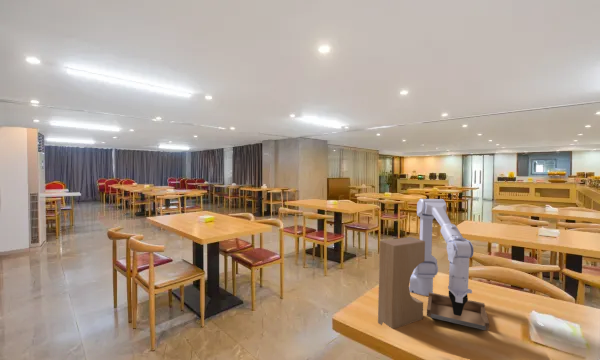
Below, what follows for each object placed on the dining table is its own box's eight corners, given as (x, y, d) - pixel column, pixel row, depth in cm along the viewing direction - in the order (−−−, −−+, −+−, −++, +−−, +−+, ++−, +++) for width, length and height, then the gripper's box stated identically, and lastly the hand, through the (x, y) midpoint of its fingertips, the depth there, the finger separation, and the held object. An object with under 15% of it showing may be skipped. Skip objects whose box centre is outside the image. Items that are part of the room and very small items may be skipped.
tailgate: (431, 318, 102) (430, 317, 97) (431, 314, 102) (431, 313, 98) (483, 330, 94) (485, 330, 90) (483, 326, 95) (485, 326, 90)
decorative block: (392, 333, 94) (394, 246, 93) (377, 322, 100) (379, 240, 99) (423, 322, 100) (425, 241, 99) (406, 313, 107) (409, 236, 106)
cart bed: (426, 320, 102) (427, 306, 102) (428, 304, 114) (428, 292, 114) (488, 335, 93) (489, 320, 93) (483, 315, 106) (484, 303, 105)
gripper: (474, 285, 86) (472, 328, 86) (470, 270, 99) (469, 307, 99) (448, 281, 89) (447, 322, 90) (448, 267, 102) (447, 303, 102)
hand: (457, 314), depth 95 cm, fingers closed
